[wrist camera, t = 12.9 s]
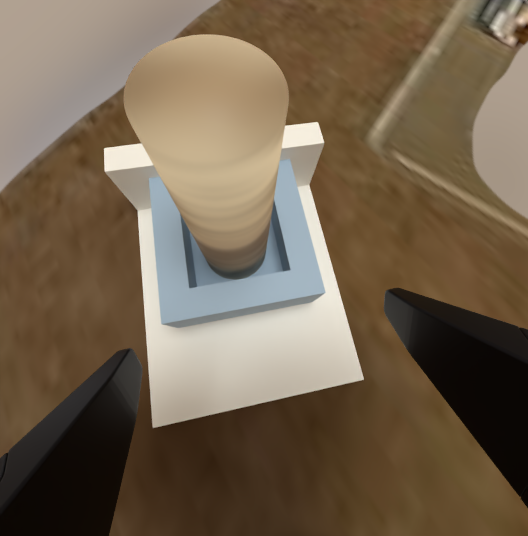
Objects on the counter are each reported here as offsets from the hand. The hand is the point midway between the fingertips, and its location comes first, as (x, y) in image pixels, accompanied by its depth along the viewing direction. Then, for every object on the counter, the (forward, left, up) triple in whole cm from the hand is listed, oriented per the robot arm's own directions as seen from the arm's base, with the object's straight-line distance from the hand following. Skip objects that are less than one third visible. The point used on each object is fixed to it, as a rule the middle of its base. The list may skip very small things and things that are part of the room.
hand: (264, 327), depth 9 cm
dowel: (+5, +5, -11) cm, 13 cm away
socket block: (+5, +5, -12) cm, 14 cm away
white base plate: (+4, +4, -13) cm, 14 cm away
